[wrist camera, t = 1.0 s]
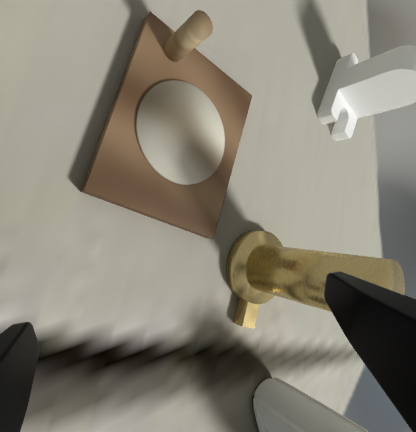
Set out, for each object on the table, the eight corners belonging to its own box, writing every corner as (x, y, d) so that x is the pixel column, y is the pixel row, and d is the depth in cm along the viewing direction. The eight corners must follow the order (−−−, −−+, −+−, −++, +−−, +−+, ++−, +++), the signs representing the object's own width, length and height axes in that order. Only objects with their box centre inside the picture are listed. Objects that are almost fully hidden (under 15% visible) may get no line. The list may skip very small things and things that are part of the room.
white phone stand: (355, 86, 41) (444, 55, 33) (336, 143, 38) (428, 124, 30) (337, 57, 38) (429, 15, 30) (315, 116, 35) (410, 87, 27)
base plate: (206, 237, 26) (246, 242, 22) (80, 191, 19) (102, 185, 15) (244, 98, 28) (286, 80, 24) (144, 18, 22) (178, -25, 18)
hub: (237, 221, 28) (376, 226, 18) (282, 241, 32) (417, 254, 22) (212, 319, 26) (350, 385, 16) (263, 327, 30) (399, 385, 20)
